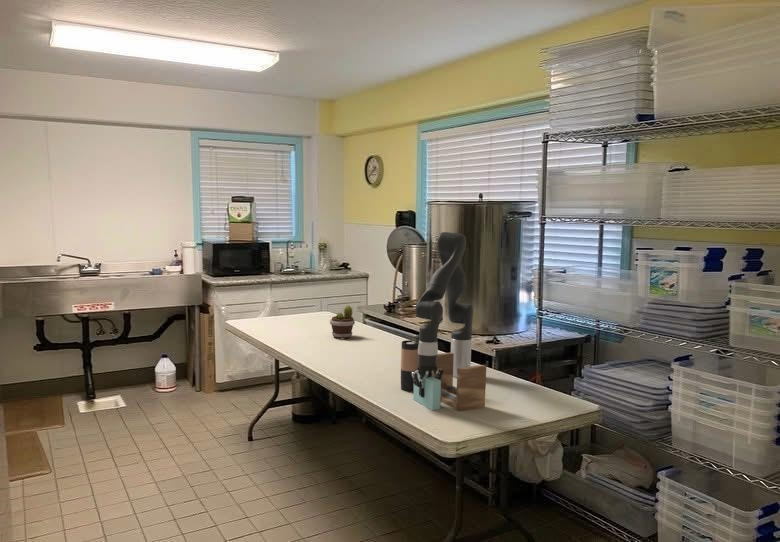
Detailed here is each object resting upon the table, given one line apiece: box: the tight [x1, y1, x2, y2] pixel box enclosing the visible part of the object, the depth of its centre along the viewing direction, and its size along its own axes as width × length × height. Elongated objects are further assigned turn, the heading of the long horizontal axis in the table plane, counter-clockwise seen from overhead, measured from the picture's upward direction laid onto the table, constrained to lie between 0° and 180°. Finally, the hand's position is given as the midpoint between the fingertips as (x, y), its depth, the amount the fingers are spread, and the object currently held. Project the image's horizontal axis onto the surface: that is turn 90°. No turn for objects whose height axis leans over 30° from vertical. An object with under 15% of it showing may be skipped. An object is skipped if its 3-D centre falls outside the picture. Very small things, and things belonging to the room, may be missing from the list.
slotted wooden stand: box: [434, 352, 487, 412], centre depth 233 cm, size 24×12×16 cm, turn 28°
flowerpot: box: [329, 304, 356, 340], centre depth 345 cm, size 14×15×20 cm
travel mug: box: [400, 339, 419, 393], centre depth 246 cm, size 8×8×20 cm
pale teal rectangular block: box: [412, 373, 441, 411], centre depth 227 cm, size 14×4×11 cm, turn 28°
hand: (426, 396), depth 227 cm, fingers closed on pale teal rectangular block, 3 cm apart
